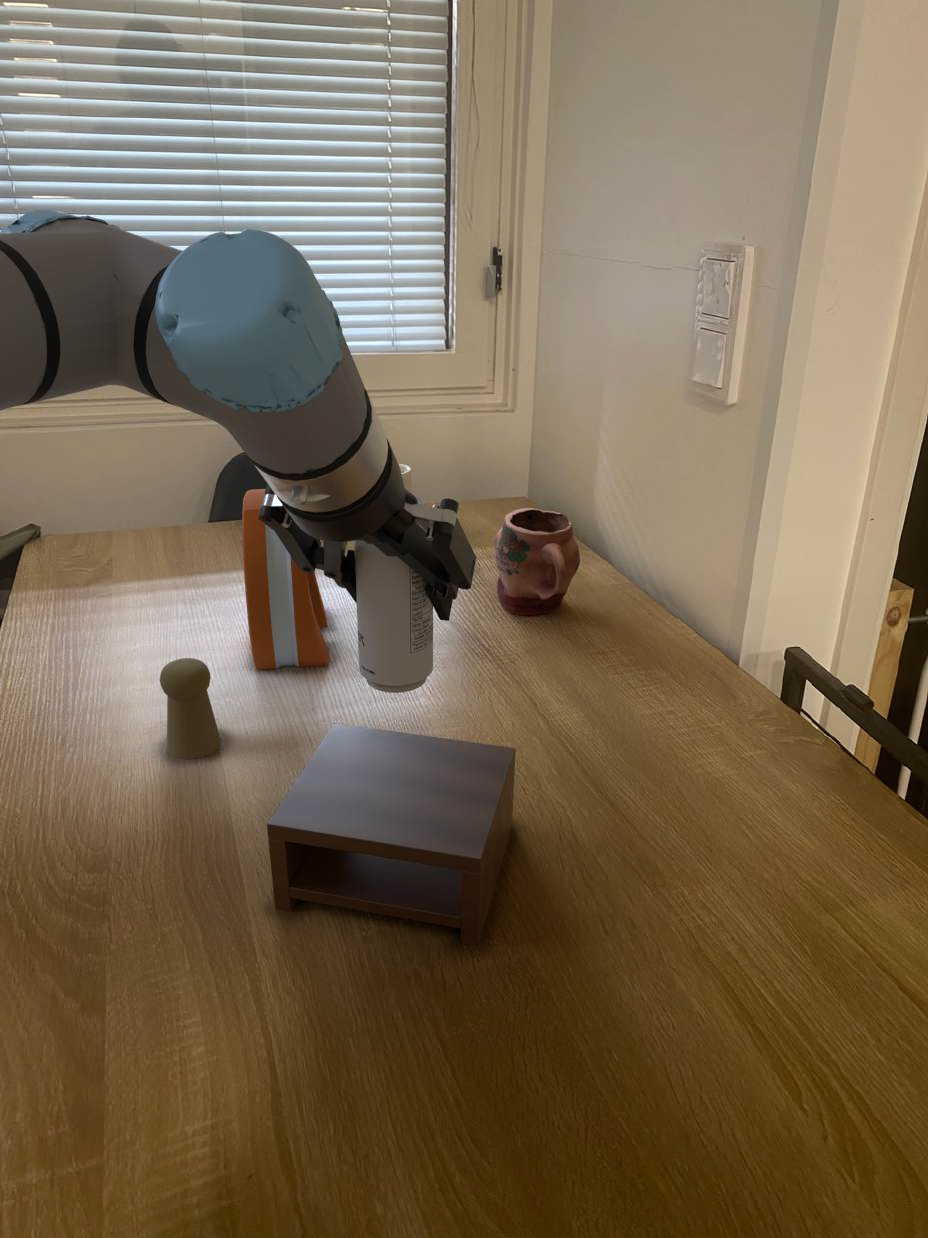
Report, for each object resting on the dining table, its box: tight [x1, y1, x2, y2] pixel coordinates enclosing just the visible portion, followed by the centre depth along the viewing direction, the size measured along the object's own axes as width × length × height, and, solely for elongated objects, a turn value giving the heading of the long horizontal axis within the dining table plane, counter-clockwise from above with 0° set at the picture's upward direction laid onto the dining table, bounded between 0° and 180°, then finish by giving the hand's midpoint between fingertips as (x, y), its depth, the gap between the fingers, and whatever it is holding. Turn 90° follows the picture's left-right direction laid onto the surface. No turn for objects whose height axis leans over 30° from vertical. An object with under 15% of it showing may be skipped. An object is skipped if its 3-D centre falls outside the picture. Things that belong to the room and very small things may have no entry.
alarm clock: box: [241, 488, 331, 671], centre depth 120 cm, size 22×10×23 cm, turn 9°
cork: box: [159, 657, 222, 760], centre depth 99 cm, size 6×6×11 cm
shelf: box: [266, 722, 517, 947], centre depth 82 cm, size 16×18×10 cm
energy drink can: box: [353, 495, 434, 694], centre depth 71 cm, size 6×6×15 cm
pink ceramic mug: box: [493, 507, 581, 616], centre depth 134 cm, size 20×12×14 cm, turn 22°
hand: (407, 600), depth 76 cm, fingers closed on energy drink can, 6 cm apart
